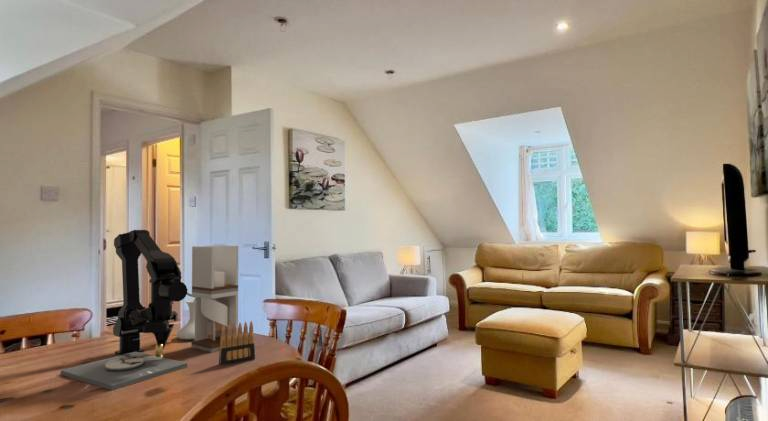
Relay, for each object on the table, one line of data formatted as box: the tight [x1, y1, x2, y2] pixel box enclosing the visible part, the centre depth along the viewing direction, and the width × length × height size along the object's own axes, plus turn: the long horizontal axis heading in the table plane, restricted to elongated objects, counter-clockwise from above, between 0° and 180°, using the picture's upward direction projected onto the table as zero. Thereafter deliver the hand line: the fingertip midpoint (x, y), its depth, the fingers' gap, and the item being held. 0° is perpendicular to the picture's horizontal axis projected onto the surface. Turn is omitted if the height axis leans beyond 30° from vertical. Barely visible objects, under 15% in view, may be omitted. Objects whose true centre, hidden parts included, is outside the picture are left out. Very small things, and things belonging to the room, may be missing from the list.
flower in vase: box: [175, 292, 195, 340], centre depth 172 cm, size 13×11×25 cm
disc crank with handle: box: [105, 343, 164, 371], centre depth 133 cm, size 15×10×6 cm, turn 105°
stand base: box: [60, 352, 188, 391], centre depth 133 cm, size 26×22×1 cm
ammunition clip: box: [218, 320, 256, 366], centre depth 141 cm, size 11×2×12 cm, turn 127°
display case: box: [191, 244, 239, 353], centre depth 160 cm, size 11×11×35 cm
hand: (161, 350), depth 138 cm, fingers closed
